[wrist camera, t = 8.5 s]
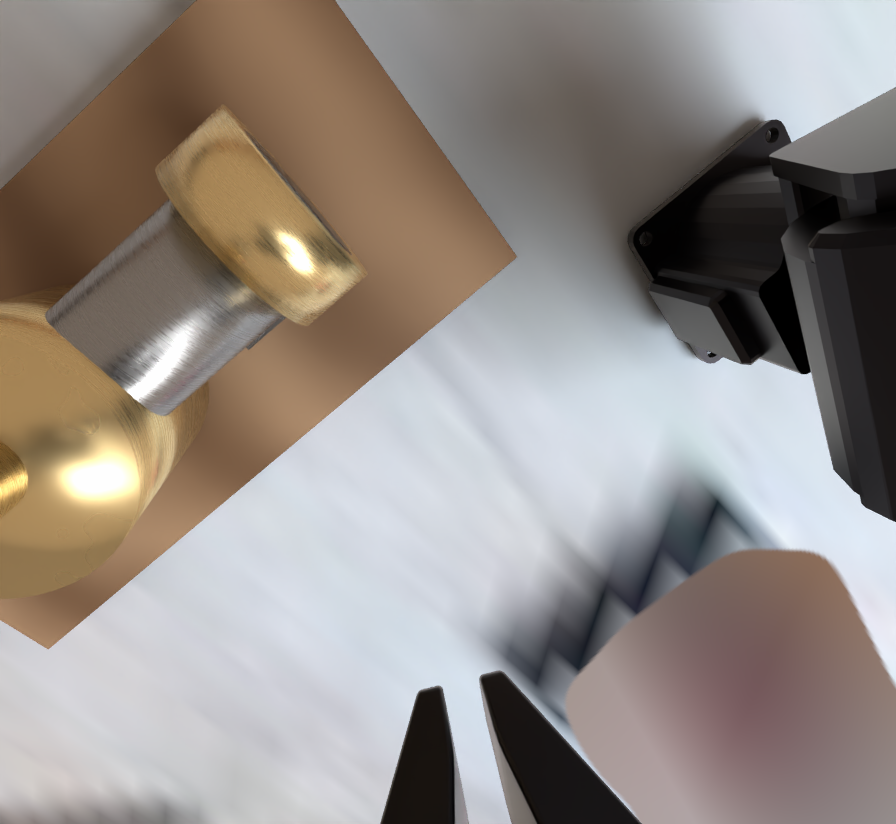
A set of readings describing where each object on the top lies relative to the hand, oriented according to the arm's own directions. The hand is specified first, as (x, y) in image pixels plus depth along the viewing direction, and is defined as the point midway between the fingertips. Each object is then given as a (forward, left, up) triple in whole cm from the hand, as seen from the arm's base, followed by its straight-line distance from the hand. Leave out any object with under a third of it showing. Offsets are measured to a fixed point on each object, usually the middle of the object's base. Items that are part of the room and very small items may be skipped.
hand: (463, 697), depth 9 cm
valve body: (+6, -8, -12) cm, 15 cm away
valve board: (+4, -8, -13) cm, 16 cm away
